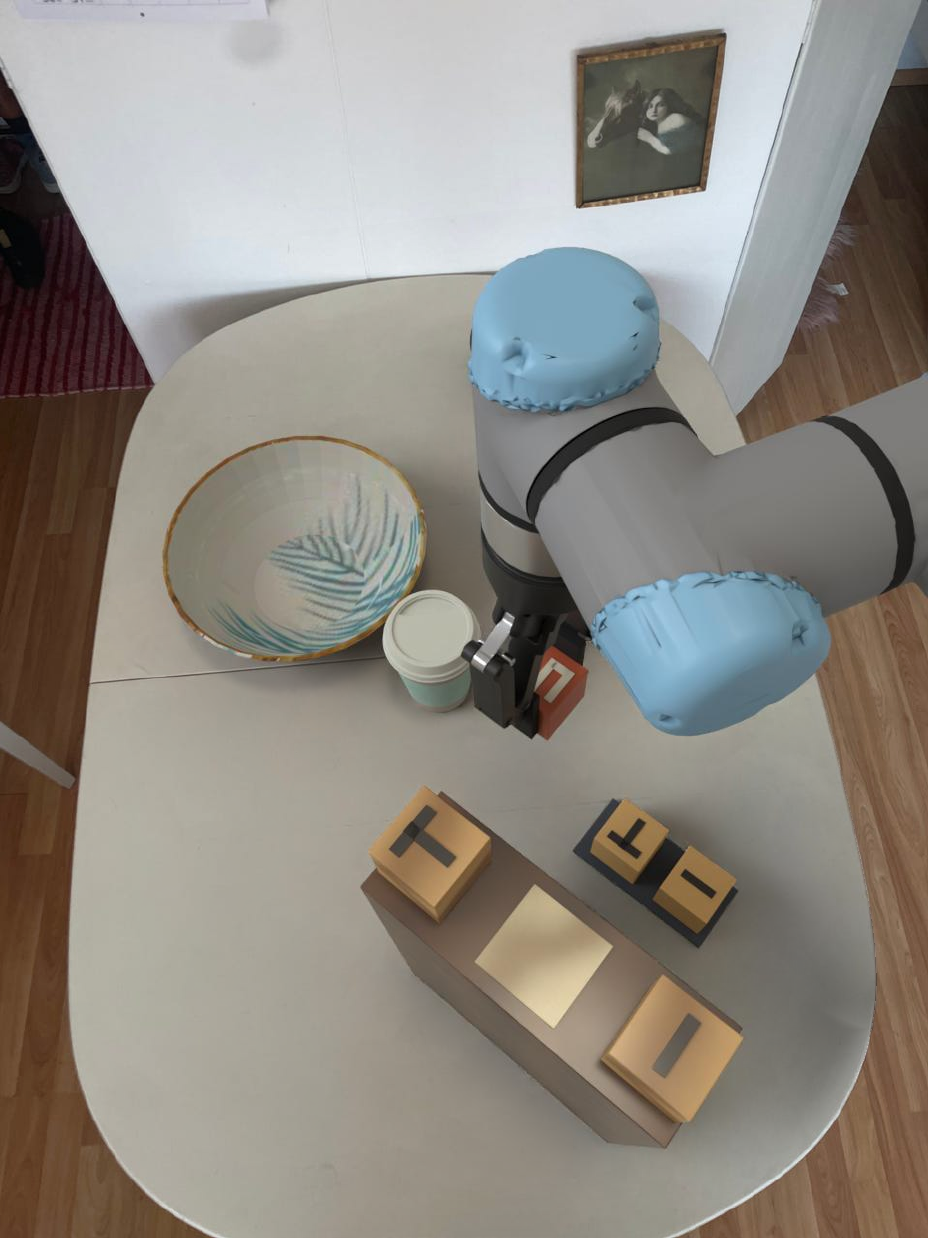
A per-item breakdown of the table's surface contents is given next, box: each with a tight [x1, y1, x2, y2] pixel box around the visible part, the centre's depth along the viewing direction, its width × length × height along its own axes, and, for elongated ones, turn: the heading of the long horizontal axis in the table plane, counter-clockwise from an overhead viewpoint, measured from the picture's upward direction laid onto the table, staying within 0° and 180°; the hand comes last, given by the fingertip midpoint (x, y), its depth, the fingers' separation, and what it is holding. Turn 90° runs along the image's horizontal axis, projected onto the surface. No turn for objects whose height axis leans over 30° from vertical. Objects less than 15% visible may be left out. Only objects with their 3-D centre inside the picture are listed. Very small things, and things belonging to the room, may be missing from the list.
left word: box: [572, 797, 739, 949], centre depth 83 cm, size 13×6×5 cm, turn 51°
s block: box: [534, 646, 589, 741], centre depth 70 cm, size 4×4×5 cm
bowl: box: [162, 435, 428, 663], centre depth 97 cm, size 25×25×8 cm
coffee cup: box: [382, 589, 482, 713], centre depth 89 cm, size 8×8×12 cm
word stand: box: [359, 785, 745, 1150], centre depth 64 cm, size 20×7×37 cm, turn 51°
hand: (541, 698), depth 72 cm, fingers closed on s block, 4 cm apart
